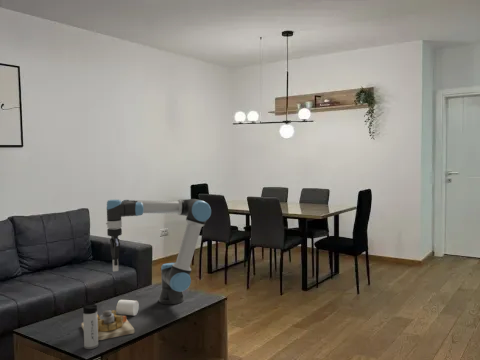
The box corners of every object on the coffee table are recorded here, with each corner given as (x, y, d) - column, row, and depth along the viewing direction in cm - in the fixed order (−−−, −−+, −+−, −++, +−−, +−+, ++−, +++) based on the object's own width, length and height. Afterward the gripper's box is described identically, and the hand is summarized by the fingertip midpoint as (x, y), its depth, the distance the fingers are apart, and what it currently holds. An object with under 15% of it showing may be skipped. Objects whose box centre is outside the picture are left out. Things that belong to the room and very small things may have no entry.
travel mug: (87, 343, 210) (85, 302, 208) (100, 343, 209) (99, 302, 208) (81, 349, 203) (79, 306, 202) (94, 349, 203) (93, 307, 202)
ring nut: (87, 323, 227) (87, 314, 227) (120, 316, 237) (120, 307, 237) (96, 333, 214) (96, 323, 214) (131, 325, 225) (131, 315, 224)
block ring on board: (123, 318, 240) (123, 301, 240) (134, 332, 221) (134, 314, 221) (81, 326, 230) (81, 308, 229) (89, 342, 211) (88, 323, 210)
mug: (133, 317, 242) (132, 303, 242) (116, 316, 244) (115, 302, 244) (142, 310, 254) (141, 296, 253) (126, 308, 256) (125, 295, 255)
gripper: (104, 227, 242) (106, 269, 244) (110, 230, 231) (111, 274, 232) (118, 225, 246) (119, 267, 247) (124, 229, 235) (125, 272, 236)
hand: (115, 270), depth 240 cm, fingers closed
